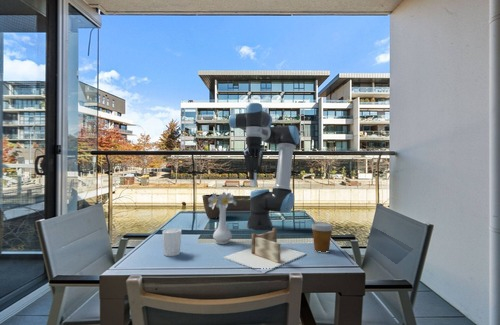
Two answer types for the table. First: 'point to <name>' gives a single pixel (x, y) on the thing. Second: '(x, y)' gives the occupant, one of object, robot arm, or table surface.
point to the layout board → (261, 262)
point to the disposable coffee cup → (322, 236)
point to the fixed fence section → (264, 237)
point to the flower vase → (222, 216)
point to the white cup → (171, 241)
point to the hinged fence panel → (267, 249)
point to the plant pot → (208, 210)
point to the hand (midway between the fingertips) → (253, 186)
